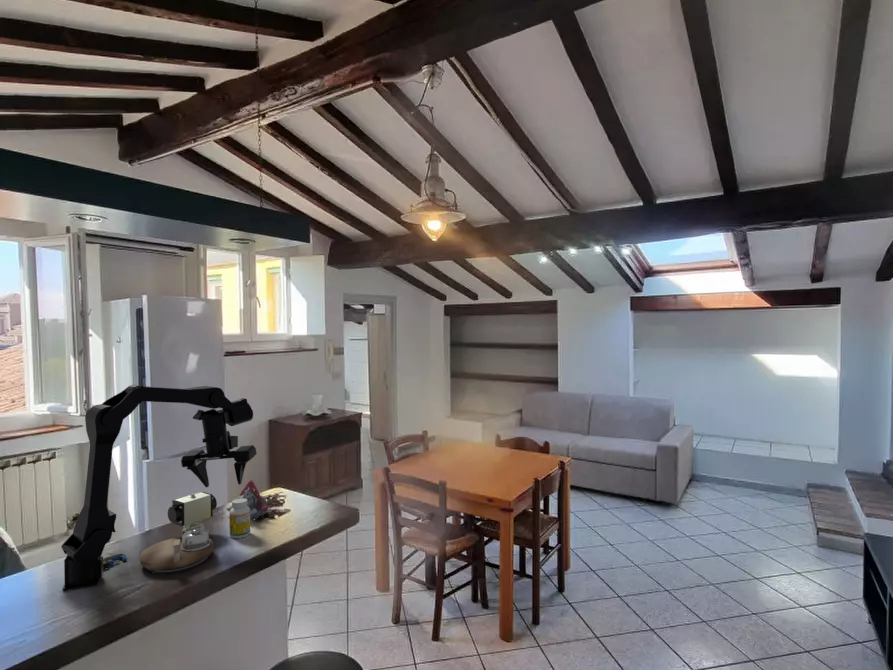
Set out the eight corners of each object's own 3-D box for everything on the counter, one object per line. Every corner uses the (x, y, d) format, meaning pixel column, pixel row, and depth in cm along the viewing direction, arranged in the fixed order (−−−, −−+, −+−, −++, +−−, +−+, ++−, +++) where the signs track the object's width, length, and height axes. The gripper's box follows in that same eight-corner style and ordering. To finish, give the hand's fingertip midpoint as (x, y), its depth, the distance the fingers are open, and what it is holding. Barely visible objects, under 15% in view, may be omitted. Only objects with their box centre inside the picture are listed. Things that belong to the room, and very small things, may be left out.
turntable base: (142, 578, 117) (142, 573, 117) (148, 554, 130) (147, 550, 130) (209, 566, 123) (209, 561, 123) (208, 544, 136) (208, 540, 136)
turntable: (136, 575, 116) (136, 551, 116) (143, 548, 130) (143, 527, 130) (214, 561, 123) (213, 538, 123) (212, 536, 137) (212, 517, 137)
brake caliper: (281, 505, 159) (261, 480, 153) (257, 535, 152) (235, 511, 146) (258, 498, 165) (238, 474, 159) (234, 528, 158) (212, 504, 152)
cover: (180, 553, 124) (180, 537, 124) (181, 543, 130) (180, 527, 130) (211, 548, 127) (210, 532, 127) (210, 538, 133) (210, 523, 133)
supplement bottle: (251, 536, 141) (250, 502, 141) (230, 540, 138) (229, 505, 138) (249, 529, 146) (249, 496, 146) (229, 533, 143) (228, 499, 143)
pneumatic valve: (217, 531, 145) (217, 489, 145) (177, 545, 135) (176, 500, 135) (206, 527, 148) (205, 486, 148) (165, 541, 138) (165, 497, 138)
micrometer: (123, 550, 129) (130, 555, 126) (123, 557, 129) (130, 563, 126) (66, 566, 120) (73, 572, 117) (66, 574, 120) (73, 581, 117)
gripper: (259, 419, 148) (267, 471, 150) (196, 425, 148) (204, 476, 150) (244, 431, 136) (252, 487, 138) (175, 438, 137) (185, 493, 139)
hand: (223, 485), depth 142 cm, fingers open, 9 cm apart
